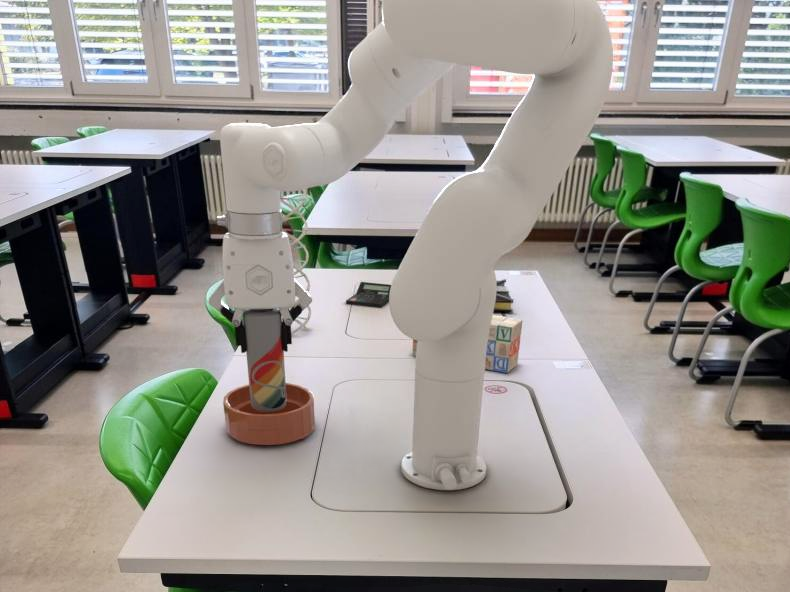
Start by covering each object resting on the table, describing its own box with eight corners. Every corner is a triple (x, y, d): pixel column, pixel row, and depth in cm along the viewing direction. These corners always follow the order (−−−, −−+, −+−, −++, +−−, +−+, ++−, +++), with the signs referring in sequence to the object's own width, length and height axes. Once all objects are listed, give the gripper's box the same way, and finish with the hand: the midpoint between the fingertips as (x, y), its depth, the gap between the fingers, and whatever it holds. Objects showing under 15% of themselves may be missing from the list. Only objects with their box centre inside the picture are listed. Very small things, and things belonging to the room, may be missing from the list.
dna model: (299, 326, 168) (291, 183, 152) (318, 332, 164) (313, 186, 148) (277, 333, 163) (267, 185, 147) (297, 339, 160) (289, 189, 144)
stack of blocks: (518, 365, 149) (525, 304, 142) (507, 374, 144) (514, 311, 138) (424, 347, 157) (426, 288, 150) (411, 355, 152) (413, 295, 146)
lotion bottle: (279, 414, 115) (271, 284, 104) (245, 410, 116) (233, 281, 105) (291, 401, 119) (284, 275, 109) (258, 397, 120) (248, 272, 110)
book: (442, 290, 199) (443, 271, 196) (504, 292, 198) (506, 273, 196) (445, 312, 180) (446, 291, 178) (513, 314, 180) (515, 294, 177)
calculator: (346, 303, 185) (346, 291, 183) (361, 293, 194) (361, 281, 193) (381, 307, 183) (381, 295, 181) (394, 296, 192) (395, 284, 191)
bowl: (317, 446, 115) (316, 413, 112) (225, 450, 113) (221, 417, 110) (311, 410, 127) (310, 380, 124) (228, 414, 124) (224, 383, 122)
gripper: (190, 229, 98) (206, 359, 108) (318, 228, 101) (322, 355, 111) (194, 219, 105) (208, 343, 114) (314, 219, 107) (318, 340, 117)
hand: (264, 348), depth 112 cm, fingers closed on lotion bottle, 5 cm apart
